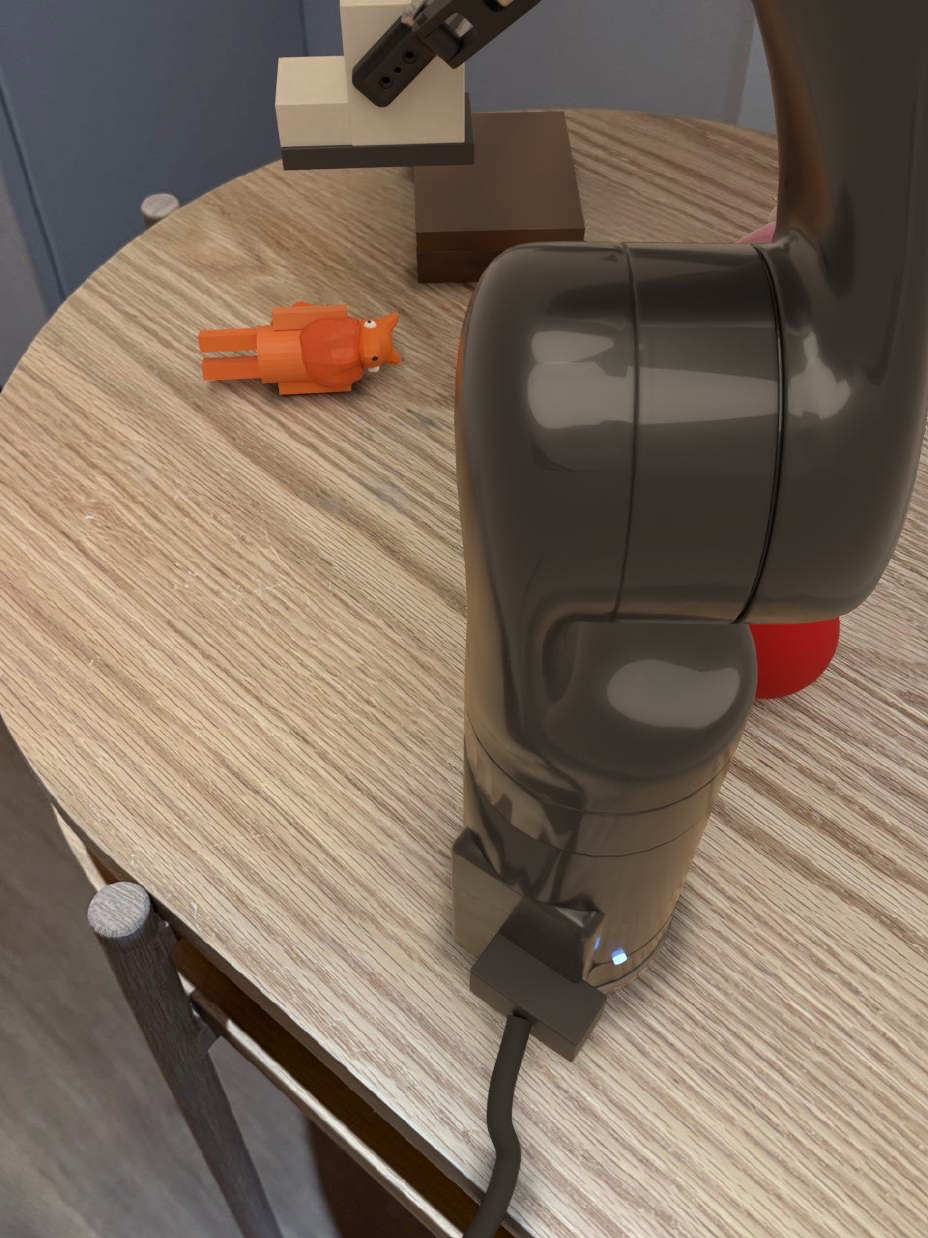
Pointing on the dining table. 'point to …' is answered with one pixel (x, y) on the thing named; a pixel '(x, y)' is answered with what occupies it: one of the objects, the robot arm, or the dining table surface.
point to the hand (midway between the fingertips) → (366, 62)
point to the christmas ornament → (792, 655)
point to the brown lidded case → (497, 196)
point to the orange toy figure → (303, 349)
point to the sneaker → (370, 105)
